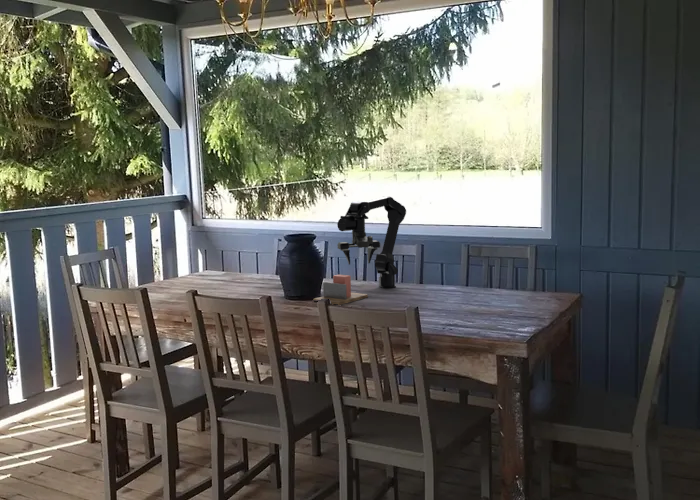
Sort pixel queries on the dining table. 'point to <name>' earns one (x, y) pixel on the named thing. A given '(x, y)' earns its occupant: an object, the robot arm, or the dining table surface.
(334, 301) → the shelf board
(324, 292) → the bookend
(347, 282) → the salmon pink block
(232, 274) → the dining table surface
